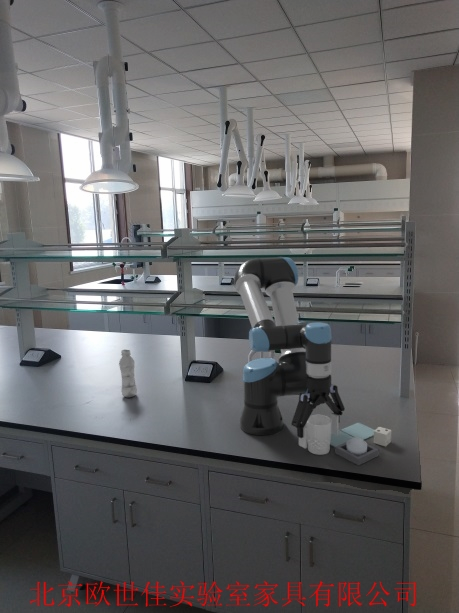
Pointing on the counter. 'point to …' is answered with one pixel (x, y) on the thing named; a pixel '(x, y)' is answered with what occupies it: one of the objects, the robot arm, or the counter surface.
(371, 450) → the frame
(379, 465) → the counter surface
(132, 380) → the plastic bottle
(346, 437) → the tile
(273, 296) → the robot arm
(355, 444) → the dome
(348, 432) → the tile
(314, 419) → the white cup
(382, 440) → the die
